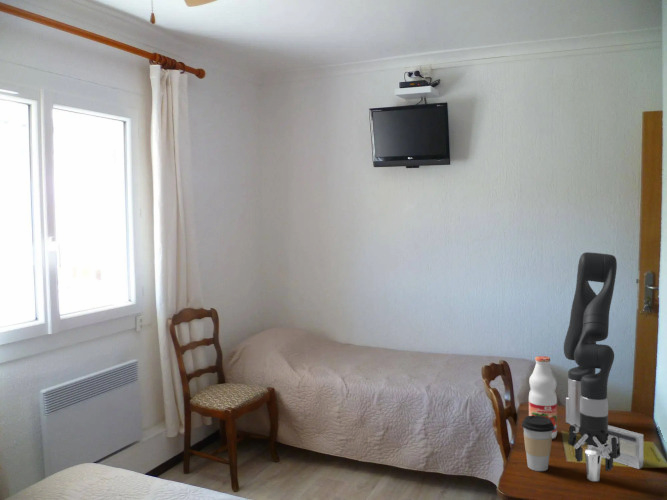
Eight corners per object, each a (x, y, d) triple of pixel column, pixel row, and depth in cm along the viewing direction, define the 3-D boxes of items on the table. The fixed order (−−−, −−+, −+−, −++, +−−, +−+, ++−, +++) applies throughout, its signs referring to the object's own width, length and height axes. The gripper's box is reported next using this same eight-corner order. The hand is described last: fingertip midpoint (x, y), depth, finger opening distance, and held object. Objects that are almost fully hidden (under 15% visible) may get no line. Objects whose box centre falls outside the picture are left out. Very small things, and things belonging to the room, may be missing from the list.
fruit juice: (552, 430, 204) (552, 354, 203) (560, 440, 195) (560, 360, 193) (525, 429, 205) (525, 354, 204) (532, 439, 196) (532, 360, 194)
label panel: (587, 453, 184) (587, 423, 183) (592, 450, 186) (592, 420, 185) (638, 469, 171) (638, 437, 171) (643, 466, 173) (643, 434, 173)
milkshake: (606, 483, 163) (606, 449, 162) (587, 482, 164) (587, 448, 163) (602, 476, 167) (602, 443, 167) (583, 475, 168) (583, 442, 168)
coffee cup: (530, 458, 181) (530, 412, 180) (559, 466, 174) (559, 419, 173) (516, 467, 174) (516, 420, 173) (545, 477, 167) (545, 427, 167)
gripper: (624, 414, 161) (624, 469, 162) (576, 402, 172) (576, 454, 173) (612, 420, 157) (612, 477, 158) (564, 408, 168) (564, 461, 169)
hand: (593, 465), depth 165 cm, fingers open, 8 cm apart
